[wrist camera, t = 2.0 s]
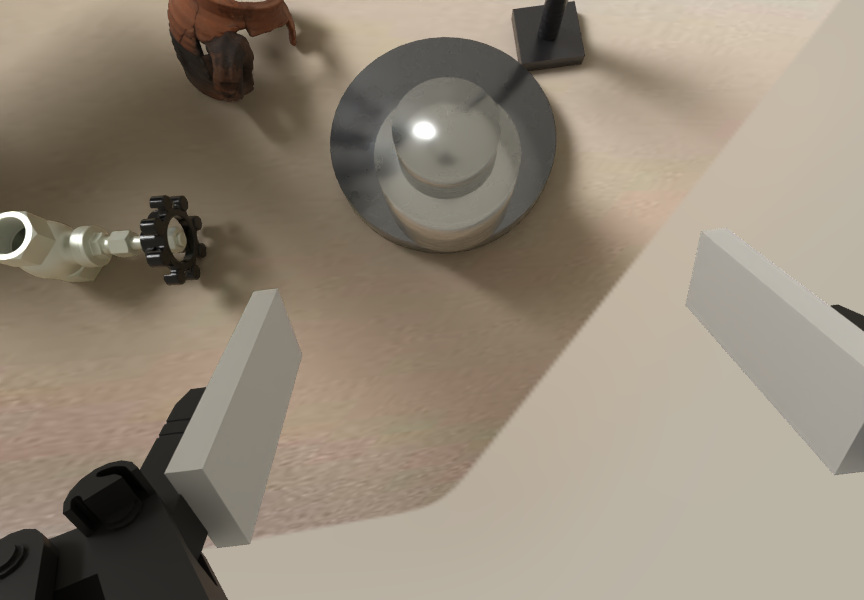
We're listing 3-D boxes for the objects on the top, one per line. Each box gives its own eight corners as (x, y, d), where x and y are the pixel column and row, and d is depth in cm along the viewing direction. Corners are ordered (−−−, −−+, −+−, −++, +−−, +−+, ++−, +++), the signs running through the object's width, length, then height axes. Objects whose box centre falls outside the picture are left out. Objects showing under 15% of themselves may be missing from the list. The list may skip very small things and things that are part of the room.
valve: (55, 304, 37) (206, 293, 37) (-30, 286, 31) (152, 273, 30) (62, 224, 38) (208, 212, 38) (-18, 190, 32) (156, 176, 31)
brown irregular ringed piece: (172, 37, 41) (158, -70, 35) (283, 52, 45) (290, -42, 39) (179, 134, 36) (165, 30, 30) (304, 140, 40) (317, 50, 34)
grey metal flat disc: (344, 265, 36) (338, 258, 34) (330, 68, 39) (323, 52, 38) (566, 239, 36) (573, 230, 34) (533, 42, 39) (537, 24, 37)
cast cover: (393, 258, 34) (371, 213, 25) (382, 144, 36) (358, 64, 27) (518, 244, 34) (540, 193, 25) (501, 129, 36) (516, 43, 27)
